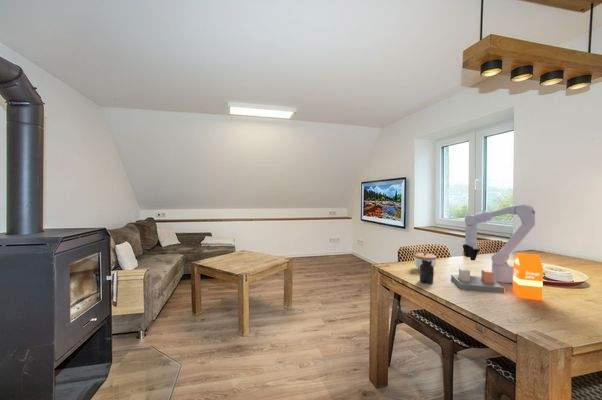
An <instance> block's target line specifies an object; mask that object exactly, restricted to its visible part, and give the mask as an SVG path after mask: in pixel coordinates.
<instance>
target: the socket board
mask: <svg viewBox="0 0 602 400" xmlns="http://www.w3.org/2000/svg"><path fill="white" fill-rule="evenodd" d="M450 277H451V278H450V280H451V281H452V282H454V283H455V285H457V287H458V288H459V289H460V290H465V291H466V290H467V291H478V292H479V291H480V292H490V293H505V287H504V286H503V285H501V284H500V283H499V282H496V281H494V282H493V283H484V282H482V281H481V276H478V275H474V276H473V275H471V270H470V269H468V268H463V267H462V268H461V267H459V269H458V274H451V275H450Z"/></svg>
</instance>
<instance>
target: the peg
mask: <svg viewBox="0 0 602 400" xmlns="http://www.w3.org/2000/svg"><path fill="white" fill-rule="evenodd" d="M480 277H481V281H482V282H484V283H493V282H494V272H492V269H491V270H490V269H481V275H480Z"/></svg>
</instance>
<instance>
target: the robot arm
mask: <svg viewBox="0 0 602 400" xmlns="http://www.w3.org/2000/svg"><path fill="white" fill-rule="evenodd" d="M508 214H509V215H514V216H515V215H517V216H518V218H519V219H520V221H521V225H520V226H519V227H518V229H517V230H516V231H515V232H514V233H513V234H512V236H510V238H508V240H507V241H506V242H505V244H504V245H503V246H502V248H500V249H499V251H496V253H494V254H492V255H491V271H492V272H494V281H496V282H497V283H507V284H513V270H514V265H512V264H509V263H508V261H509V259H510V255H511V254H512V253H513V251H514V250H515V249H516V248H517V247H518V246H519V244H520V243H521V242H522V241H523V240H524V239H525V237H526V236H527V235H528V234H529V233H530V232H531V230H532V229H533V228H534V227H535V226H536V211H535V209H534V207H533V206H532V205H531V204H527V203H523V204H518V205H510V206H507V207H504V208H500V209H497V210H494V211H489V210H481V212H477V213H473V214H469V215H467V216H466V217H465V218H464V223H465V236H464V242H462V245H461V246H462V248H463V250H464V254H465V257H466V258H469V259H470V261H476V258H477V257H478V253H479V252H480V250H481V249H480V248H478V247H479V246H478V243H477V241H478V239H477V238H478V236H477V235H478V224H483V223H485V222H486V223H487V222H490V221H492V220H493V218H496V217H500V216H503V215H508Z"/></svg>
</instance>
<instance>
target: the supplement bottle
mask: <svg viewBox="0 0 602 400" xmlns="http://www.w3.org/2000/svg"><path fill="white" fill-rule="evenodd" d="M431 264H432V260H429V259H422V264H421V265H420V270H419V282H421V283H422V284H428V285H429V284H430V285H431V284H433V283H434V274H435V273H434V272H435V271H434V268H435V267H433V266H432V265H431Z"/></svg>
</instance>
